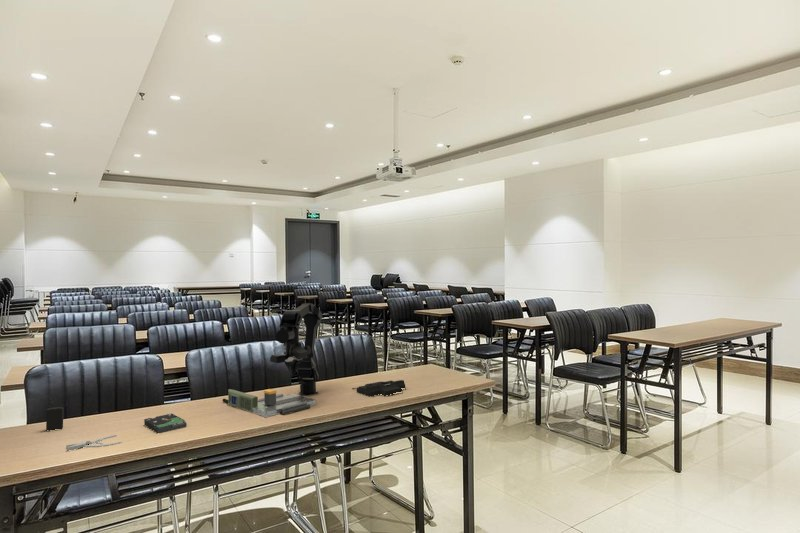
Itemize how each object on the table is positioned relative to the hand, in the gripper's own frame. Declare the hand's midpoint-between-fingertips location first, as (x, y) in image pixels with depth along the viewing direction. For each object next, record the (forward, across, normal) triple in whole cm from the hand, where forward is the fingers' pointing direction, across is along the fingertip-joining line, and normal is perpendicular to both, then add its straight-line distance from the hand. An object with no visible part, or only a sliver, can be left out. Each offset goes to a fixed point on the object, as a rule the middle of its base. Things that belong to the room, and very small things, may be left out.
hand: (292, 376), depth 209 cm
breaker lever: (+10, -11, 0) cm, 15 cm away
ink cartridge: (+12, -78, +38) cm, 88 cm away
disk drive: (+13, -49, +12) cm, 52 cm away
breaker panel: (+12, -6, 0) cm, 13 cm away
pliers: (+13, -73, +9) cm, 74 cm away
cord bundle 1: (+12, -5, -9) cm, 16 cm away
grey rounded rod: (+12, -5, +9) cm, 16 cm away
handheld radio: (+13, -18, +14) cm, 26 cm away
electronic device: (+13, +42, -7) cm, 44 cm away
